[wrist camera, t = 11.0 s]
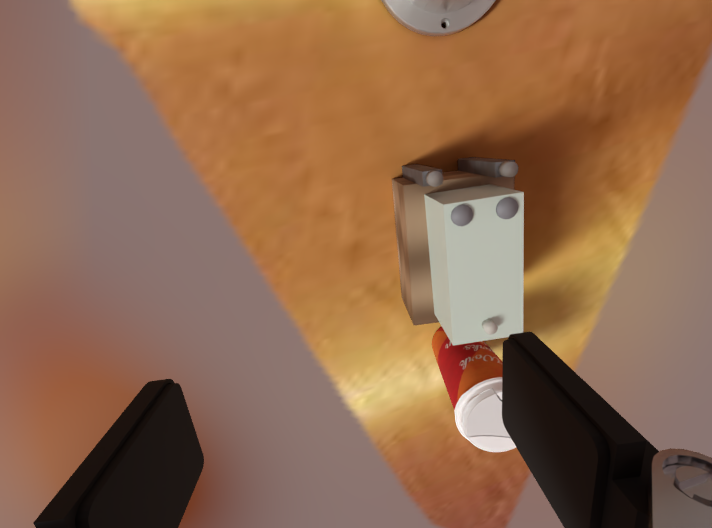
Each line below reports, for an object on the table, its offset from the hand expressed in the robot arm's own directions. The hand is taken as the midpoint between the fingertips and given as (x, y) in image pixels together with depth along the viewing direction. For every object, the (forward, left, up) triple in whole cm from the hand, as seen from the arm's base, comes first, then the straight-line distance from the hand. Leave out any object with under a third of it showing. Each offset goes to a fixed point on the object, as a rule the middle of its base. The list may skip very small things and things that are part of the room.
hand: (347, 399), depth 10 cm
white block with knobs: (+4, +11, -23) cm, 26 cm away
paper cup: (+18, +12, -31) cm, 37 cm away
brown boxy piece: (+4, +11, -30) cm, 32 cm away
